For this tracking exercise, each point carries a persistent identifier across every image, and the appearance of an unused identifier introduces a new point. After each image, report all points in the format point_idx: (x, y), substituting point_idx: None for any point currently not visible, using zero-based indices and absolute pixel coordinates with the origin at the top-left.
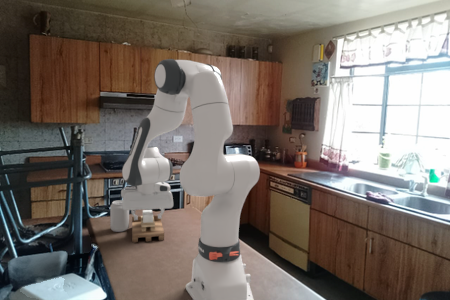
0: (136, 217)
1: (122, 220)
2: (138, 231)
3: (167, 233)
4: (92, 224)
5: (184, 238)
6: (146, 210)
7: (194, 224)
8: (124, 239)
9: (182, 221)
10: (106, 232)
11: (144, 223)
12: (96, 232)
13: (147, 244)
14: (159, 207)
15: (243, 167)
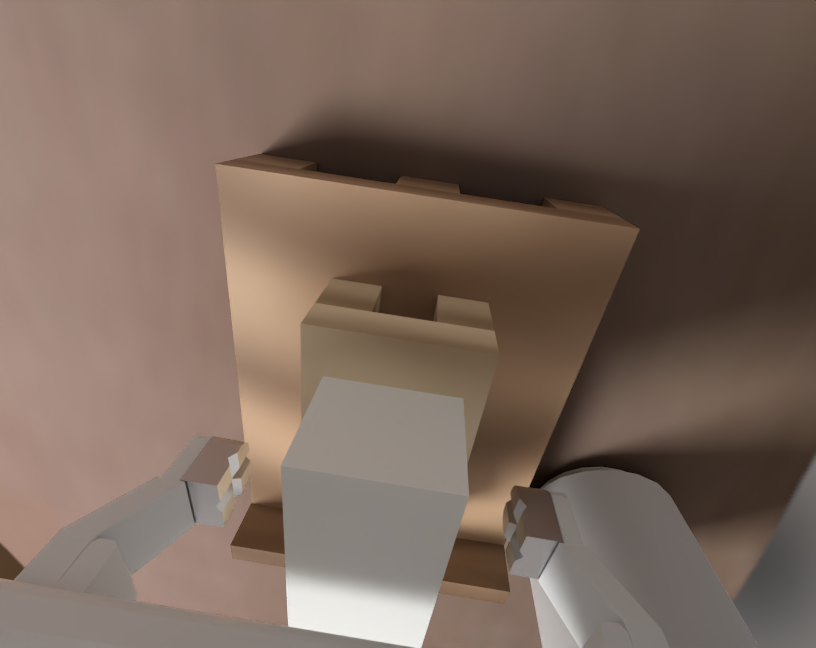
0: (543, 524)
1: (637, 560)
2: (525, 317)
3: (223, 317)
4: None
5: (39, 131)
6: (368, 634)
7: (9, 417)
8: (641, 312)
9: (113, 488)
10: (709, 489)
11: (453, 369)
12: (779, 511)
13: (460, 86)
14: (70, 627)
15: None
